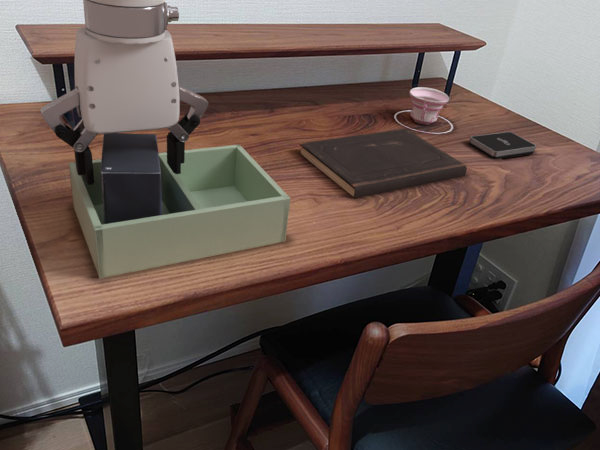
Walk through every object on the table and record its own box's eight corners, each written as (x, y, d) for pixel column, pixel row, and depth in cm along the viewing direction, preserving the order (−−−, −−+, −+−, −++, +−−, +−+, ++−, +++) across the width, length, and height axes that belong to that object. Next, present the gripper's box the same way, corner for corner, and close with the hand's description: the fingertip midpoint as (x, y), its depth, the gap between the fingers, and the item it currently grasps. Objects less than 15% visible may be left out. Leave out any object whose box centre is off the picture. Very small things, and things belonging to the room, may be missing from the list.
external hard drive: (534, 155, 104) (537, 146, 103) (491, 162, 99) (495, 152, 98) (507, 140, 109) (510, 131, 108) (465, 146, 104) (468, 136, 103)
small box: (164, 253, 64) (163, 172, 58) (104, 256, 62) (97, 173, 56) (159, 206, 72) (158, 131, 67) (106, 207, 70) (100, 131, 65)
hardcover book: (298, 155, 92) (299, 143, 91) (403, 140, 103) (405, 128, 102) (353, 202, 81) (356, 188, 80) (464, 178, 92) (468, 166, 91)
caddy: (99, 282, 59) (94, 229, 56) (73, 210, 71) (68, 162, 67) (284, 244, 70) (290, 198, 66) (236, 186, 81) (239, 144, 77)
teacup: (398, 108, 118) (404, 80, 115) (454, 121, 116) (462, 92, 112) (388, 127, 108) (395, 96, 105) (450, 141, 106) (458, 110, 102)
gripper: (197, 10, 61) (194, 152, 70) (23, 8, 53) (45, 168, 62) (222, 28, 55) (215, 179, 64) (33, 29, 47) (56, 201, 57)
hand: (132, 173), depth 63 cm, fingers open, 9 cm apart
